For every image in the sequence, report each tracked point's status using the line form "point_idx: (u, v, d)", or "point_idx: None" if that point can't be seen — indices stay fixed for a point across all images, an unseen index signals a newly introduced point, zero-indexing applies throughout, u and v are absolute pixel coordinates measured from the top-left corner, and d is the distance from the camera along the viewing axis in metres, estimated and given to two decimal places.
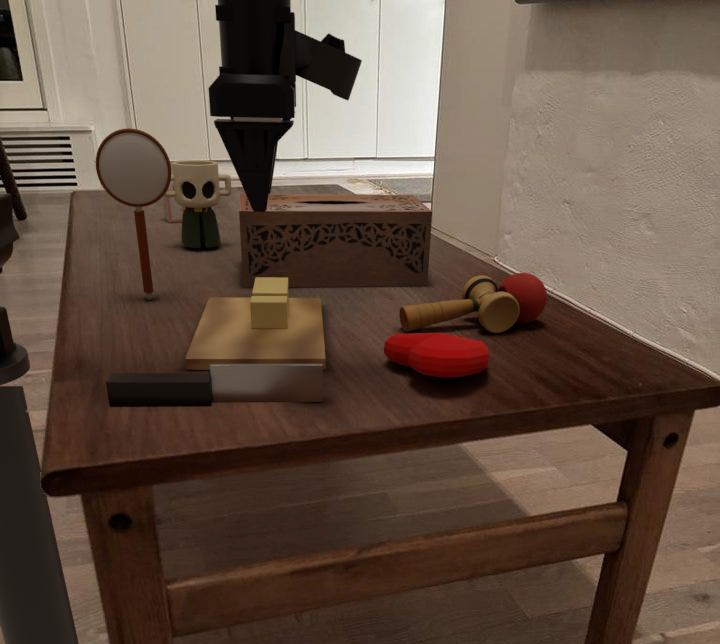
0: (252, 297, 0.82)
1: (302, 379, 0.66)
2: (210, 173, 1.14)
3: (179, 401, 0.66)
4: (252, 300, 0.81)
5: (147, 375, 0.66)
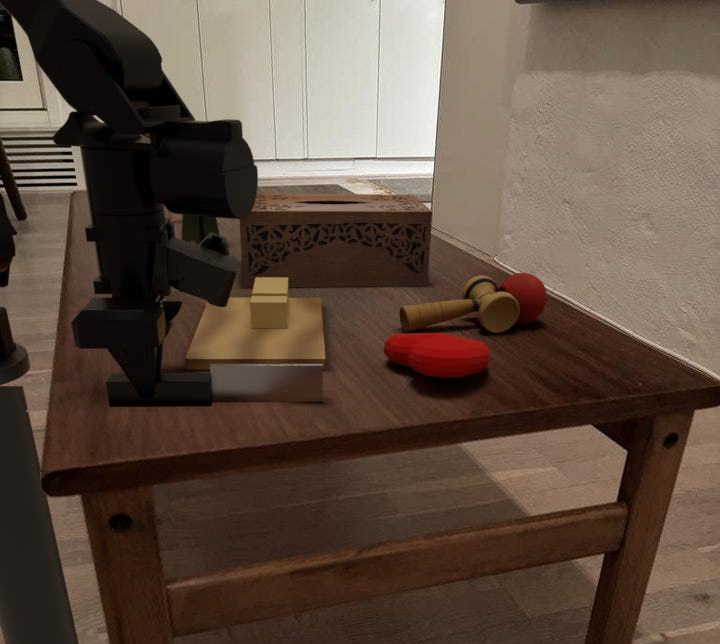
0: (252, 297, 0.82)
1: (302, 379, 0.66)
2: None
3: (179, 401, 0.66)
4: (252, 300, 0.81)
5: None
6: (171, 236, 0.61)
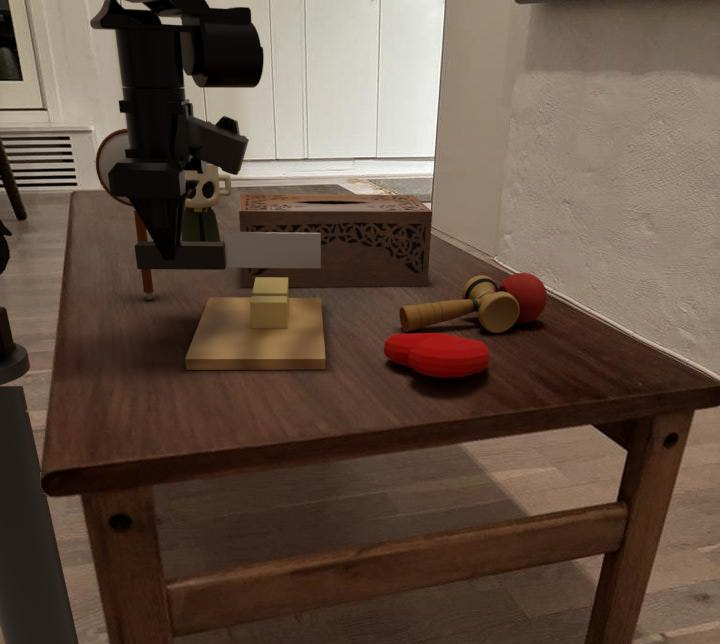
0: (252, 297, 0.82)
1: (303, 247, 0.77)
2: (210, 173, 1.14)
3: (197, 264, 0.76)
4: (252, 300, 0.81)
5: None
6: (190, 114, 0.71)
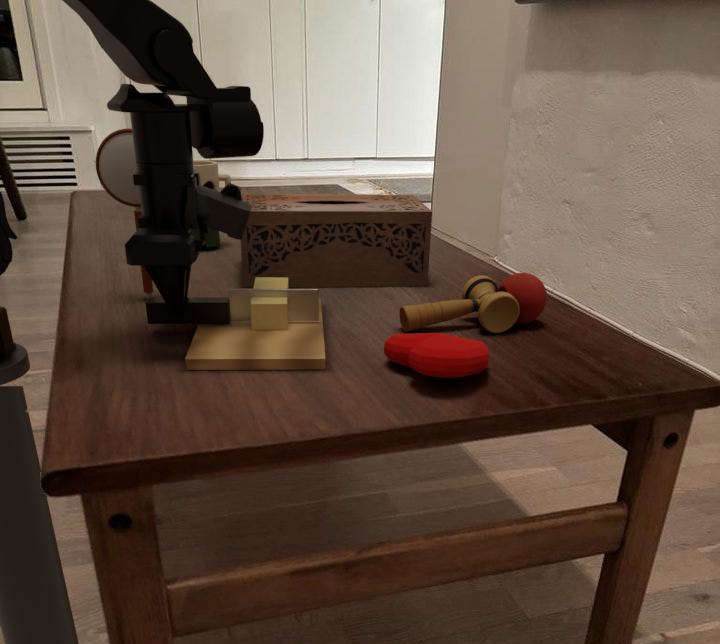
0: (252, 298, 0.82)
1: (302, 302, 0.83)
2: (210, 173, 1.14)
3: (203, 319, 0.82)
4: (252, 301, 0.80)
5: None
6: (198, 183, 0.77)
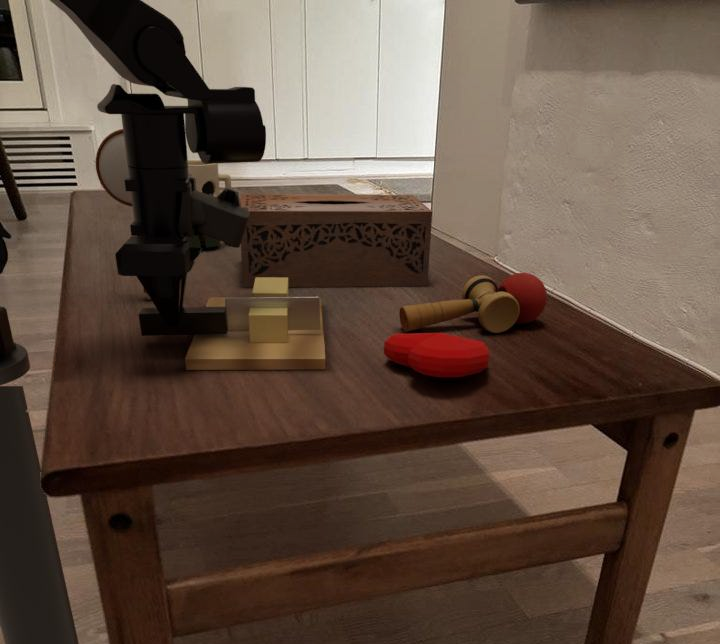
0: (251, 309, 0.78)
1: (302, 310, 0.79)
2: (210, 173, 1.14)
3: (199, 329, 0.78)
4: (251, 313, 0.77)
5: None
6: (193, 189, 0.73)
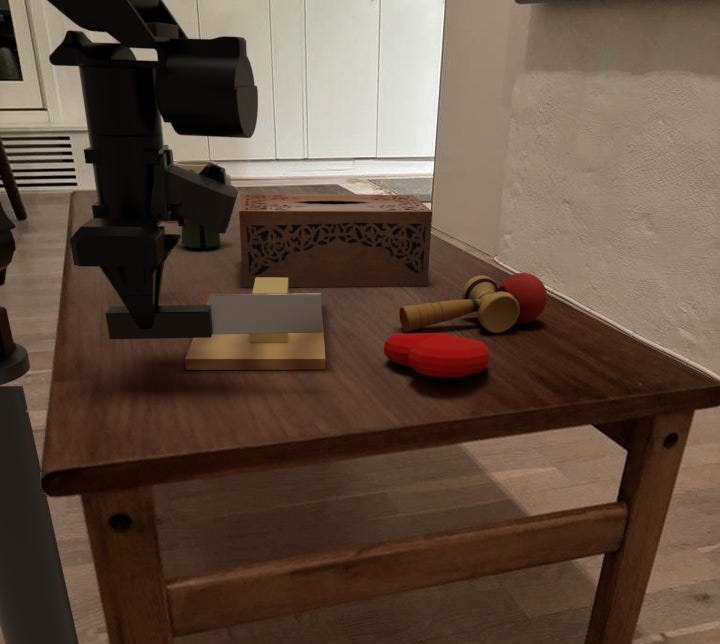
0: None
1: (301, 309, 0.66)
2: None
3: (179, 332, 0.66)
4: None
5: None
6: (170, 162, 0.61)
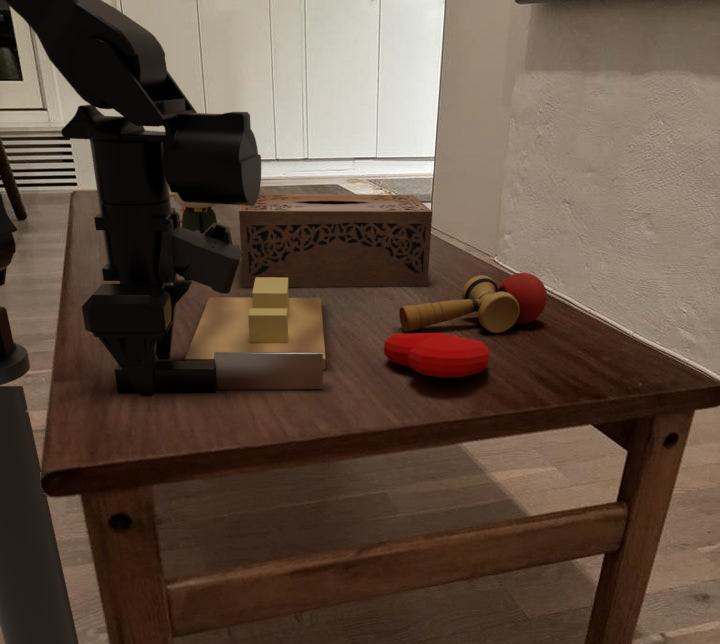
0: (251, 309, 0.78)
1: (303, 367, 0.69)
2: None
3: (185, 388, 0.68)
4: (250, 313, 0.77)
5: None
6: (176, 225, 0.63)
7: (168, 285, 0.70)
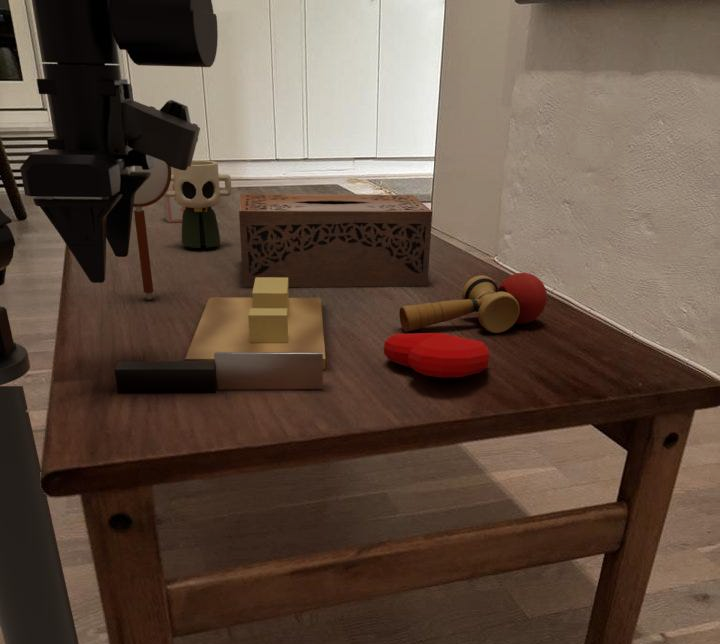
0: (251, 309, 0.78)
1: (303, 367, 0.69)
2: (210, 173, 1.14)
3: (185, 388, 0.68)
4: (250, 313, 0.77)
5: (154, 363, 0.69)
6: (128, 97, 0.59)
7: (124, 174, 0.66)
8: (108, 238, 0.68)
